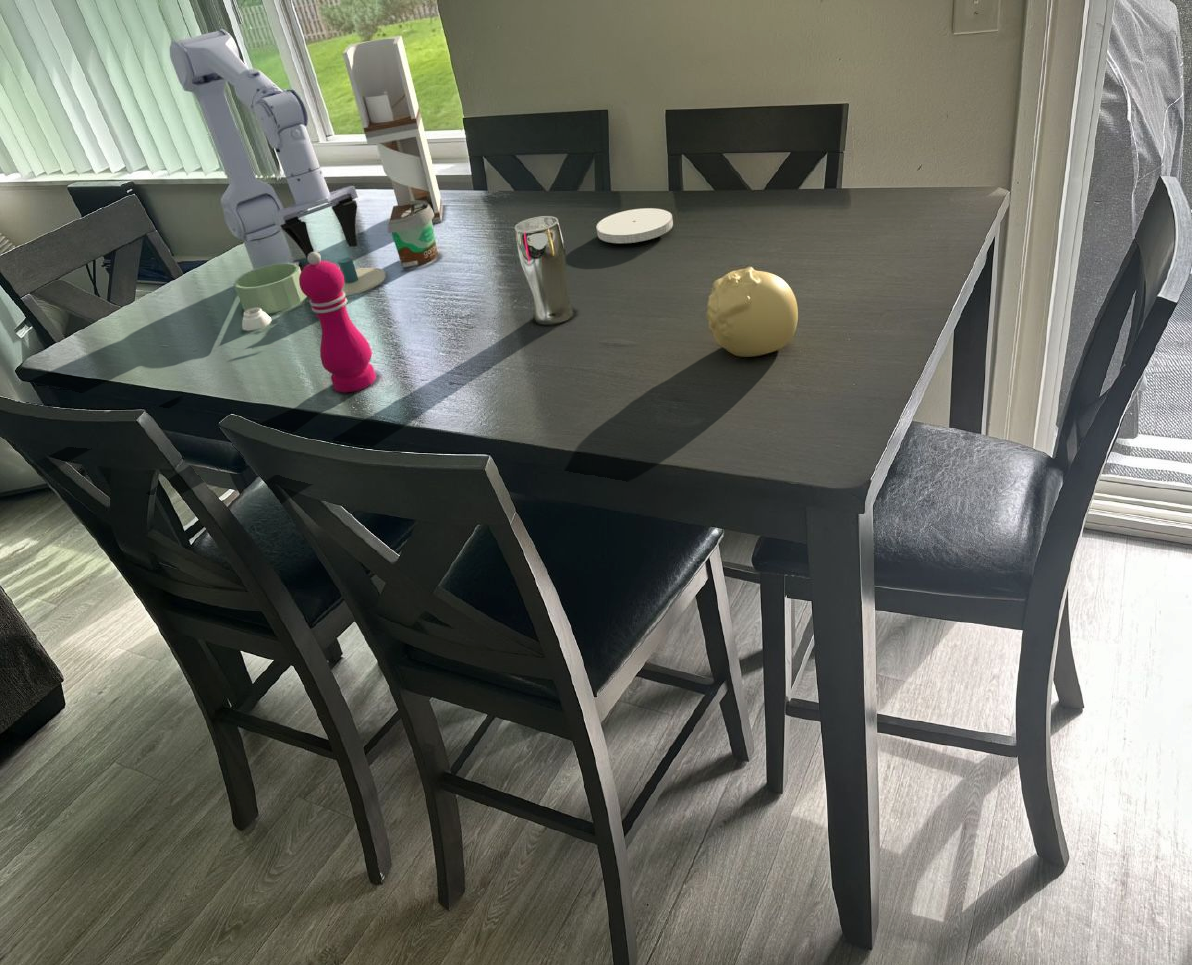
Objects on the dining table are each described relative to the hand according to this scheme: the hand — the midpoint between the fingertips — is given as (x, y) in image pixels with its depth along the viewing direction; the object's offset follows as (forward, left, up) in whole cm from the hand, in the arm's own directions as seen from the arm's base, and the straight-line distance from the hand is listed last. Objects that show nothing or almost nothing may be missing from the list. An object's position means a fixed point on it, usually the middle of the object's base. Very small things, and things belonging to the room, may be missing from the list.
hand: (333, 253), depth 157 cm
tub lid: (-12, 0, -9) cm, 15 cm away
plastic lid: (-9, +53, -10) cm, 54 cm away
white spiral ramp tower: (-47, +12, -10) cm, 49 cm away
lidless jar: (-1, -16, -10) cm, 19 cm away
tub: (-11, -14, -10) cm, 21 cm away
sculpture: (+45, +59, -10) cm, 75 cm away
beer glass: (+21, +34, -10) cm, 41 cm away
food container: (-18, +14, -10) cm, 24 cm away
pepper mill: (+30, +3, -10) cm, 32 cm away
